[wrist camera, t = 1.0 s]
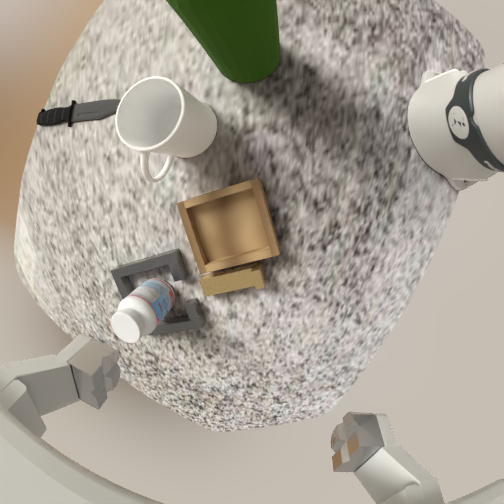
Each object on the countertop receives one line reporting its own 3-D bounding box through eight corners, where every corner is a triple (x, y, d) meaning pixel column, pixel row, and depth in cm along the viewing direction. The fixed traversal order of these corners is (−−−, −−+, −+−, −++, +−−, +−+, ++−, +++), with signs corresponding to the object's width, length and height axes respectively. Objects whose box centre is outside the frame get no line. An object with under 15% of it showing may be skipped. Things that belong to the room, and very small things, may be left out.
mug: (197, 187, 36) (159, 195, 25) (146, 170, 36) (96, 172, 25) (226, 108, 33) (200, 80, 21) (172, 95, 33) (130, 70, 21)
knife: (137, 90, 32) (131, 121, 33) (142, 92, 33) (137, 123, 35) (39, 107, 34) (34, 131, 35) (44, 108, 35) (40, 131, 37)
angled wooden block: (261, 261, 38) (259, 269, 35) (266, 278, 39) (264, 287, 36) (202, 275, 40) (196, 284, 37) (208, 291, 40) (202, 300, 37)
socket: (178, 248, 39) (173, 252, 37) (206, 321, 42) (202, 327, 40) (117, 266, 41) (110, 270, 39) (144, 330, 44) (140, 336, 42)
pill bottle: (170, 316, 43) (140, 355, 32) (139, 299, 43) (104, 333, 32) (181, 287, 41) (149, 323, 30) (147, 269, 41) (109, 299, 30)
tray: (259, 177, 35) (257, 177, 32) (280, 248, 37) (279, 254, 34) (184, 201, 37) (176, 203, 34) (206, 266, 39) (200, 274, 36)
